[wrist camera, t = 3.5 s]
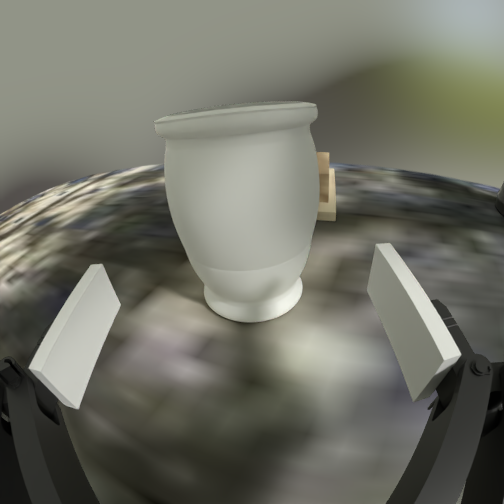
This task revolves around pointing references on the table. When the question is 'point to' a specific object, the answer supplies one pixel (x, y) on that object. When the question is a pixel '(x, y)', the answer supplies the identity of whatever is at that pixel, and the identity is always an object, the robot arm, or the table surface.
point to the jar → (244, 201)
